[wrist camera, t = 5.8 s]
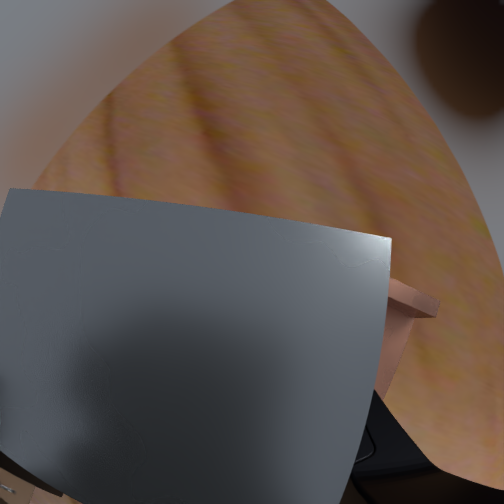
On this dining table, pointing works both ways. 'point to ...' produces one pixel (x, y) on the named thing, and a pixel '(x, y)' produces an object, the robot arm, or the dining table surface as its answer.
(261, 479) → the block
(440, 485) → the robot arm
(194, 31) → the dining table surface
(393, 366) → the plate
